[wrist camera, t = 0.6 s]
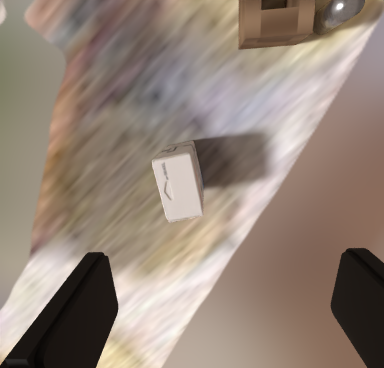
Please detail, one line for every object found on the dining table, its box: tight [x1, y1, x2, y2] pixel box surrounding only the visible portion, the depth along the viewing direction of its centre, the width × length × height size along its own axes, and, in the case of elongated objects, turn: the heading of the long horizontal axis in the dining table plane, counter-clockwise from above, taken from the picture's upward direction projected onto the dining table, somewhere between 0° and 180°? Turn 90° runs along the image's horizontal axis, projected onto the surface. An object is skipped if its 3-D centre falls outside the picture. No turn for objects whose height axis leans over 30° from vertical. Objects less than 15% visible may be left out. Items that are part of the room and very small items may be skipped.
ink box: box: [152, 141, 204, 222], centre depth 32 cm, size 9×5×12 cm, turn 12°
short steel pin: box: [313, 0, 365, 35], centre depth 27 cm, size 3×3×6 cm
